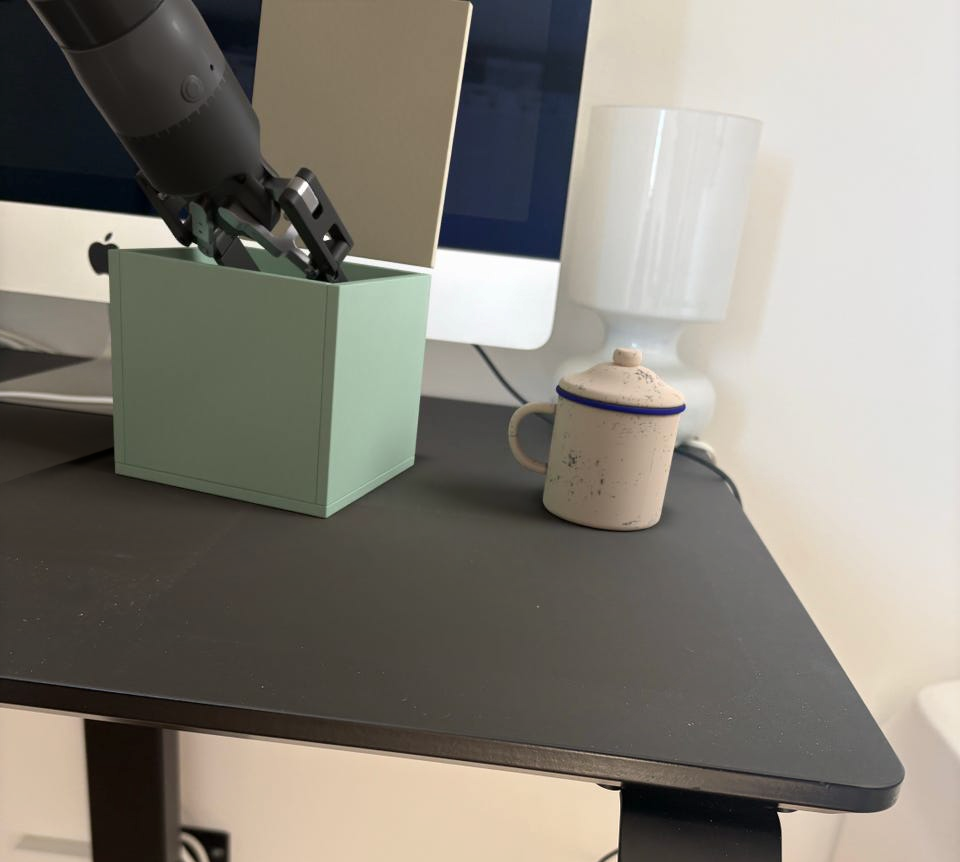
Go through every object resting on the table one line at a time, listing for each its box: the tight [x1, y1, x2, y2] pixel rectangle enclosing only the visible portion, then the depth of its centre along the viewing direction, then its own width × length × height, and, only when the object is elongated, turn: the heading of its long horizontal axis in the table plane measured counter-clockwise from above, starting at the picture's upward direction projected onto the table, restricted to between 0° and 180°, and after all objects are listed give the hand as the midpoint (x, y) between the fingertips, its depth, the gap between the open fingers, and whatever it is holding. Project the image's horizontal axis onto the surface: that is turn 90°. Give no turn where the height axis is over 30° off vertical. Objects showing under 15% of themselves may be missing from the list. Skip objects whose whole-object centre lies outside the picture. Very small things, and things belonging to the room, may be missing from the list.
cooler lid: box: [238, 0, 474, 269], centre depth 73 cm, size 17×16×1 cm
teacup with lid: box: [507, 347, 687, 532], centre depth 71 cm, size 12×9×12 cm
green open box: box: [107, 245, 432, 519], centre depth 70 cm, size 17×16×14 cm
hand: (295, 296), depth 70 cm, fingers open, 8 cm apart
